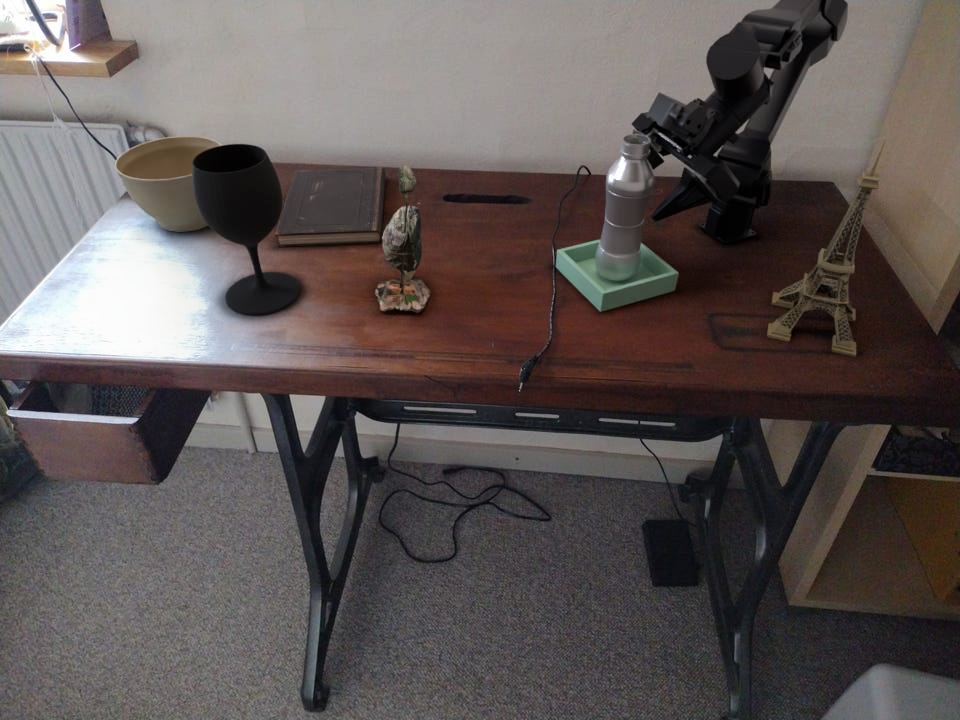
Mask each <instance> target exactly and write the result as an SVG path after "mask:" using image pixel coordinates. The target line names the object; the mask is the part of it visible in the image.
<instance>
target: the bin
mask: <svg viewBox="0 0 960 720" xmlns="http://www.w3.org/2000/svg"><path fill="white" fill-rule="evenodd" d="M599 242H600V239H595V240H592V241H588V242H584V243H583V242H582V243H579V244H576V245H575V244H574V245H571V246H567V247H563V248H560V249H557V250H556V257H555V258H556V260H555V268H556V269H557V270H558V271H559V272H560V273H561V274H562V275H563V276H564V277H565V278H566V279H567V280H568V281H569V282H570V283H571V284H572V285H573V286H574V287H575V288H576V289H577V291H579V292H580V293H581V295H582V296H584V297H585V298H586V299H587V301H589V303H591V304H592V305H593V306H594V307H595V309H596V310H598V311H599V312H601V313H602V312H606V311H609V310H612V309H615V308H619V307H623V306H626V305H630V304H634V303H637V302H640V301H644V300H648V299H651V298H654V297H658V296H661V295H664V294H669V293H672V292H675V291H676V287H677V284H678V279H679V274H680V273H679V271H677V270H676V269H675V268H673V267H672V266H671V264H668V263H667V262H666V261H665V260H663V258H661V257H660V256H659V255H657V253H655V252H654V251H652V250H651V249H650V248H648V246H646V244H644V243H642V242H641V263H640V265H639V268H638V271H637V272H636V274H635V275H634V276H632V277H631V278H630V279H628V280H624V281H612V280H608V279H606V278H604V277H602V276H601V275H600V274H599V273H598V271H597V269H596V267H595V255H596V251H597V248H598V245H599Z"/></svg>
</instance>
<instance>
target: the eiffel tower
mask: <svg viewBox="0 0 960 720" xmlns="http://www.w3.org/2000/svg"><path fill="white" fill-rule="evenodd" d="M885 143H886V139H884V141H883V143H882V146H881V149H880V151H879V153H878V155H877V157H876V160H875V162H874V163H873V167H872V168H871V171H862V172H861V175H860V176H858V177H857V186H858V190H857V191H856V194H855V195H854V197H853V199H852V201H851V204H850V205H849V207H848V209H847V211H846V213H845V215H844V216H843V218H842V220H841V222H840V223H839V225H838V227H837V229H836V231H835V233H834V235H833V236H832V238H831V240H830V242H829V244H828V245H827V247H826V248H823V247H822V248H821V249H820V251H819V252H818V255H817V262H816V264H815V266H814V267H813V268H812V270H810V272H808V273H807V272H804V275H803V278H802V279H801V280H798V281H797V282H795V283H793V284H790V285H789V286H787V287H785V288H783V289H782V290H780V292H776V291H773V293H772V299H771V305H773V306H776V307H782V308H786V309H790V310H789V311H787V312H786V313H784V314H782V315H780V317H778V318H776V319H775V321H773V322H771V323H770V322H769V323H768V327H767V333H766V338H770V339H775V340H780V341H784V342H787V343H788V342H790V341H791V337H792V330H793V328H794V327H795V326H796V324H797V323H798V321H799V320H800V318H801V317H802V315H803V314H804V312H808V311H812V310H822V311H824V312H826V313H828V314H829V315H830V316H831V317H832V318H833V322H834V323H833V324H834V330H835V331H834V332H835V334H833V336H832V338H831V352H832V353H836V354H841V355H845V356H850V357H853V358H856V356H857V342H856V341H854V336H853V332H852V330H851V327H850V323H849V322H852V323H855V322H856V319H857V318H856V317H857V314H856V308H853V305H852V302H851V299H850V296H849V282H850V281H849V280H850V275H851V274H855V268H856V265H855V252H856V248H857V244H858V240H859V236H860V233H861V229H862V226H863V222H864V218H865V215H866V212H867V208H868V205H869V201H870V199H871V195H872V191H873V190H879V189H880V183H879V182H881V180H880V179H881V178H880V173H876V169H877V166H878V163H879V160H880V158H881V154H882V151H883V148H884V146H885ZM846 237H847V239H846ZM845 239H846V244H845V248H844V252H843V253H842V252H839V250H840V248H841V247H842V245H843V243H844V241H845ZM826 276H830V277H835V278H837V280H835V279H831V278H826ZM796 301H798V302H797V304H796V305H795V302H796Z"/></svg>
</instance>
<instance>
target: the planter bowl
mask: <svg viewBox="0 0 960 720" xmlns="http://www.w3.org/2000/svg"><path fill="white" fill-rule="evenodd" d="M222 145H223V144H222V143H221V142H219V141H217V140H215V139H212V138H209V137H204V136H197V135H196V136H194V135H191V136H190V135H184V136H183V135H181V136H179V135H178V136H167V137H162V138H157V139H153V140H149V141H145V142H143V143H140V144H137V145H135V146H132V147H130V148H128V149H127V150H125V151H124V152H122V153H121V154H119V156H118V157H117V158H116V160H115V162H114V170H115V171H116V174H117V175H118V177H119V178H120V180H121V182H122V184H123V186H124V188H125V190H126V192H127V193H128V196H130V198H131V199H132V200H133V202H134V203H135V204H136V205H137V206H138V207H139V208H140V209H141V210H142V211H143V212H144V213H146V214H147V215H148V216H149V217H151V218H152V219H154V220H155V221H157V223H158V225H159V226H160V227H161V228H163V229H164V230H166V231H170V232H174V233H175V232H176V233H178V232H179V233H182V232H183V233H187V232H193V231H197V230H201V229H204V228H206V227H209V226H208V225H207V223H206V222H205V220H204V219H203V217H202V216H201V214H200V212H199V210H198V207H197V204H196V201H195V197H194V192H193V185H192V162H193V159H194V158H195V157H196V156H197V155H198V154H200V153H201V152H203V151H205V150H208V149H211V148H214V147H218V146H222Z"/></svg>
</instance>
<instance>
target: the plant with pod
mask: <svg viewBox="0 0 960 720" xmlns="http://www.w3.org/2000/svg"><path fill="white" fill-rule="evenodd" d="M397 175H398V176H397V178H398V186H399V187H398V188H399V192H400V194H402V195H404V199H405V205H404V206H401V207H400V208H398V209H397V211H396V212H395V213H393V215H392V217H391V219H390V221H389V222H388V224H386V226H385V228H384V230H383V234H382V235H381V240H382V250H383V254H384V256H385V260H386V263H388V265H390V267H391V268H393V269H395V270H398V271H399V275H398V276H399V280H398V279H397V278H391V279H389V280H383V281H382V280H381V281H379V282H378V285H377V288H376V289H374V295H375V296H376V298H377V299H376V301H377V302H379V304H378V305H379V311H382V312H386V311H387V312H388V311H390V310H392V311H393V310H394V309H396V310H397V311H399V310H400V311H403V310H404V312H407V311H408V312H410V311H411V312H412V311H413V313H417V314H418V313H420V312H422V311H424V310H425V307H426V304H427V301H428V299H429V297H430V296H431V290H430V288H429V287H428V286H426V285H425V282H424V280H422V279H421V278H420V277H418V278H414V279H412V278H413V276H414V275H415V273H416V271H418V267H419V266H420V263H421V260H422V255H423V246H422V219H421V216H420V215H421V214H420V211H419V209H418V207H416V206H413V204H411V205H408V204H409V203H410V199H409V197H410V196H409V195H410V193H412V192H414V190H415V189H416V187H417V179H416V176H415V174H414V172H413V171H412V169H411V167H409V166H408V165H406V164H404V165H402V166H400V167H399V169H398V174H397ZM417 204H418V205H421V202H417Z"/></svg>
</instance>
